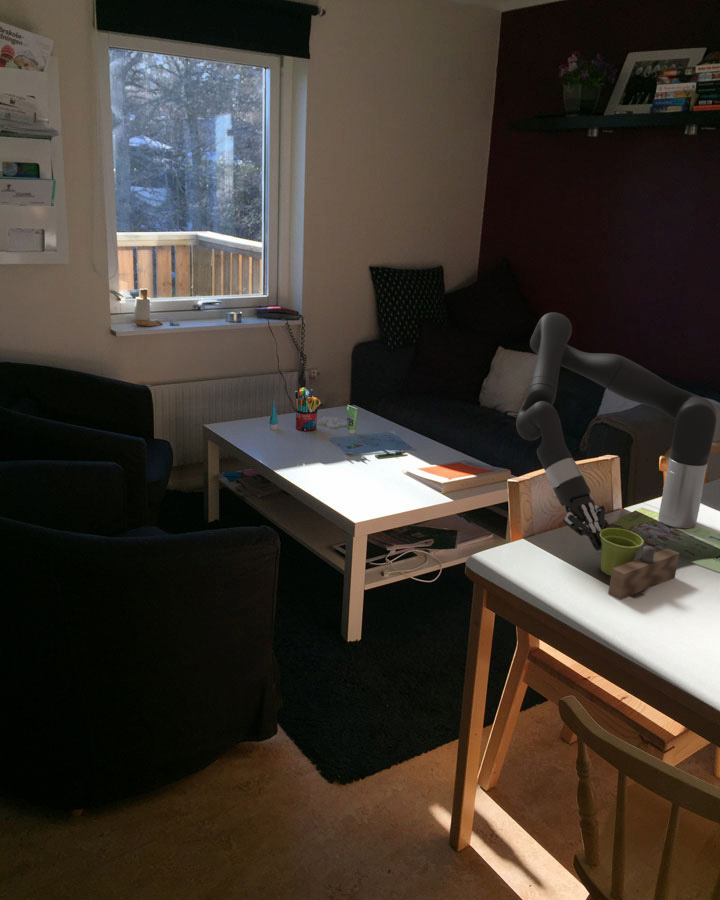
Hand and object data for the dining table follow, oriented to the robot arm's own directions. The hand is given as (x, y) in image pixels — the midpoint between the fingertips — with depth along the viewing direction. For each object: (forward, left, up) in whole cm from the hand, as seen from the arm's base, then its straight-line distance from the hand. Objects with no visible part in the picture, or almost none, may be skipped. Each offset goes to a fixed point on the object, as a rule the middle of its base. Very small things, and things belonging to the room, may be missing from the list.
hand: (601, 548), depth 183 cm
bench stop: (0, +11, -4) cm, 12 cm away
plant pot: (0, +4, -4) cm, 6 cm away
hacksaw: (-15, -6, -5) cm, 17 cm away
